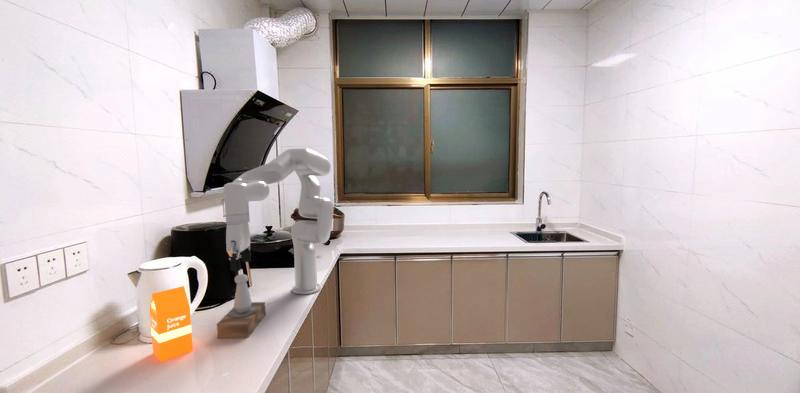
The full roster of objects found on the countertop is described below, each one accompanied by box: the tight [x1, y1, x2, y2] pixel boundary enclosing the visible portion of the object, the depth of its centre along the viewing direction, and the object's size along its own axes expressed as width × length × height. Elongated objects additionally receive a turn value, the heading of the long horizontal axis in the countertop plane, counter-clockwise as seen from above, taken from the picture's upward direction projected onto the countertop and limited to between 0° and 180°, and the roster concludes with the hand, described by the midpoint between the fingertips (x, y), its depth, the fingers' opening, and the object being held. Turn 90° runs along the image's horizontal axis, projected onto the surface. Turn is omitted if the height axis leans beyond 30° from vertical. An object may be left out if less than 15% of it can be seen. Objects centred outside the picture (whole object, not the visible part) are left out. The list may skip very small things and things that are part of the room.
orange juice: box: [149, 285, 194, 363], centre depth 113 cm, size 8×9×20 cm
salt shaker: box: [233, 273, 252, 313], centre depth 131 cm, size 6×6×13 cm
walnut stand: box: [216, 301, 267, 340], centre depth 131 cm, size 18×10×6 cm, turn 2°
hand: (241, 266), depth 130 cm, fingers open, 9 cm apart
